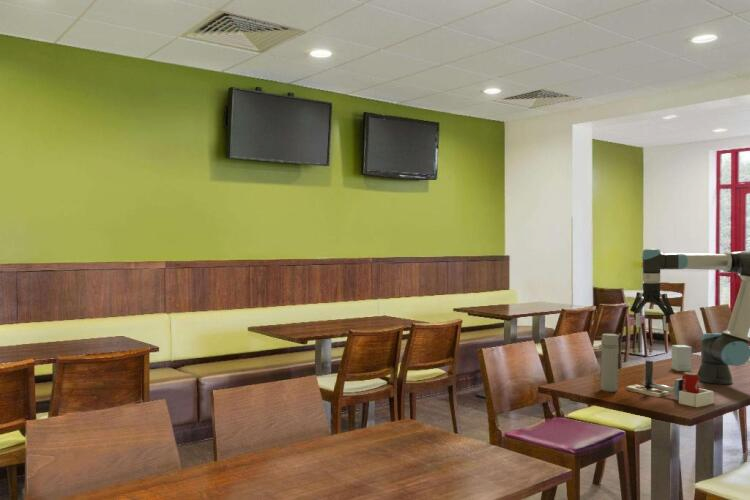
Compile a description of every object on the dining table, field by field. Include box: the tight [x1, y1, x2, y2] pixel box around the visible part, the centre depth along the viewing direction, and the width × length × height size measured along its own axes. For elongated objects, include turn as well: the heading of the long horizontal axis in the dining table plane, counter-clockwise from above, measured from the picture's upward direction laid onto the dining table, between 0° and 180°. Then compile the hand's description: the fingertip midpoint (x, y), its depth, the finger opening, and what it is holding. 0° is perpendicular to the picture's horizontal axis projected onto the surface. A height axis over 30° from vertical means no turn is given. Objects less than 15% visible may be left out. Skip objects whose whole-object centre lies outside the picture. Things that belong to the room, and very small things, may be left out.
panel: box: [625, 384, 670, 398], centre depth 287 cm, size 8×16×2 cm, turn 34°
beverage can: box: [681, 371, 700, 394], centre depth 271 cm, size 6×6×12 cm
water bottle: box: [595, 333, 619, 393], centre depth 290 cm, size 9×8×25 cm
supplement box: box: [670, 344, 692, 372], centre depth 339 cm, size 7×7×13 cm
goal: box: [678, 387, 715, 408], centre depth 269 cm, size 12×8×5 cm, turn 124°
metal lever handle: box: [641, 360, 682, 400], centre depth 281 cm, size 18×7×13 cm, turn 34°
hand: (651, 328), depth 299 cm, fingers open, 13 cm apart
